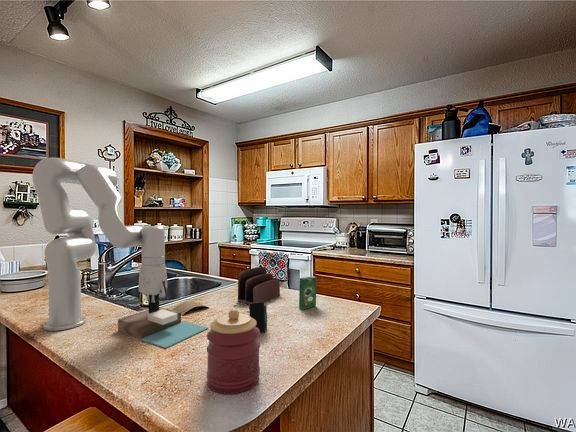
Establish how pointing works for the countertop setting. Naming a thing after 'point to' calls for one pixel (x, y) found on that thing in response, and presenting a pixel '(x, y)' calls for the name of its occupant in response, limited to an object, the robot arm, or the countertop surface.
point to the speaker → (259, 315)
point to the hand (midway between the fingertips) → (153, 312)
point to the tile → (162, 316)
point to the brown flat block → (144, 324)
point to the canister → (233, 353)
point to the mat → (174, 334)
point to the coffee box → (307, 292)
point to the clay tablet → (186, 306)
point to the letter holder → (257, 286)
